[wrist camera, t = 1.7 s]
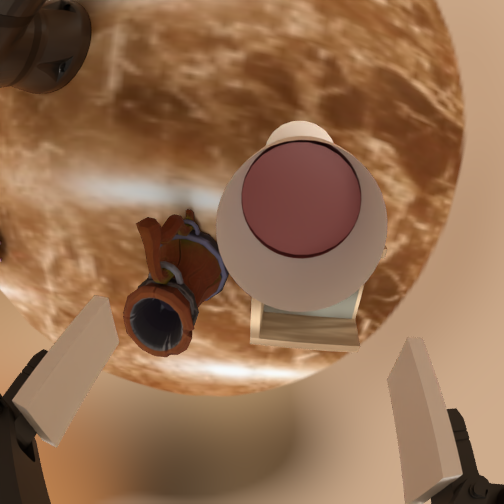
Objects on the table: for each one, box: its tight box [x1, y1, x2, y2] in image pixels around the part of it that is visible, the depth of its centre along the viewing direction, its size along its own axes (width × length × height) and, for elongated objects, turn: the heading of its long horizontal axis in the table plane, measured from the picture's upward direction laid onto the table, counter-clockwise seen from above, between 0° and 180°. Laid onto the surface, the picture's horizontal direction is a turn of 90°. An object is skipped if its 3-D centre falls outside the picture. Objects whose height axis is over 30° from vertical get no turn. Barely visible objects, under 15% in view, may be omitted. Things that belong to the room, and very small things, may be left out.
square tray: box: [250, 246, 387, 352], centre depth 41 cm, size 16×15×7 cm
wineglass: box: [216, 121, 387, 312], centre depth 27 cm, size 9×10×23 cm
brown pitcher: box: [123, 209, 229, 357], centre depth 38 cm, size 18×12×15 cm, turn 175°
